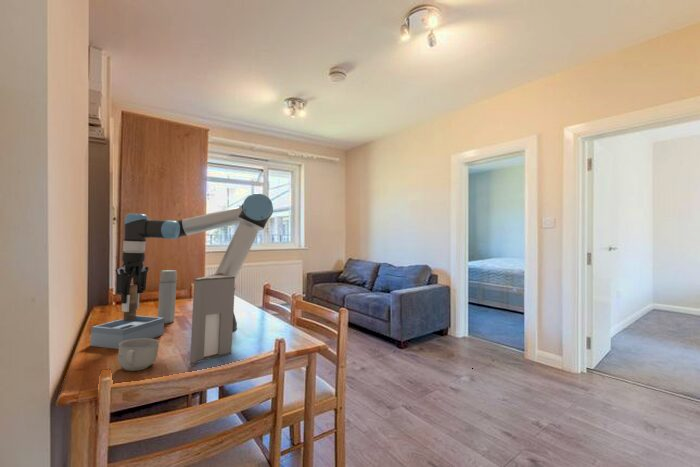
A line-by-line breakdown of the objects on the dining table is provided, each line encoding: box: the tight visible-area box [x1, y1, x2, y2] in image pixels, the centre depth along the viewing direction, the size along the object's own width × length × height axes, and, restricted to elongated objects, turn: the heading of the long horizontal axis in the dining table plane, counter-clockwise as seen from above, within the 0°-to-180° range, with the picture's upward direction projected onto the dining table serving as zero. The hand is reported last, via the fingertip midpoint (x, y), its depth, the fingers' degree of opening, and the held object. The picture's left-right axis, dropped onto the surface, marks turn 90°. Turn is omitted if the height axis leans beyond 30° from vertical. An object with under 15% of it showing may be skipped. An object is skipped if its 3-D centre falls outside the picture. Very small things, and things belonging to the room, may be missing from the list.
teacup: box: [117, 338, 160, 372], centre depth 101 cm, size 14×11×8 cm
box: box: [89, 314, 165, 350], centre depth 129 cm, size 14×20×7 cm
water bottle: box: [157, 269, 178, 324], centre depth 158 cm, size 9×8×25 cm
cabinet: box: [189, 273, 236, 366], centre depth 117 cm, size 21×10×28 cm, turn 1°
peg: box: [122, 283, 138, 321], centre depth 129 cm, size 4×4×14 cm
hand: (130, 310), depth 129 cm, fingers closed on peg, 4 cm apart
